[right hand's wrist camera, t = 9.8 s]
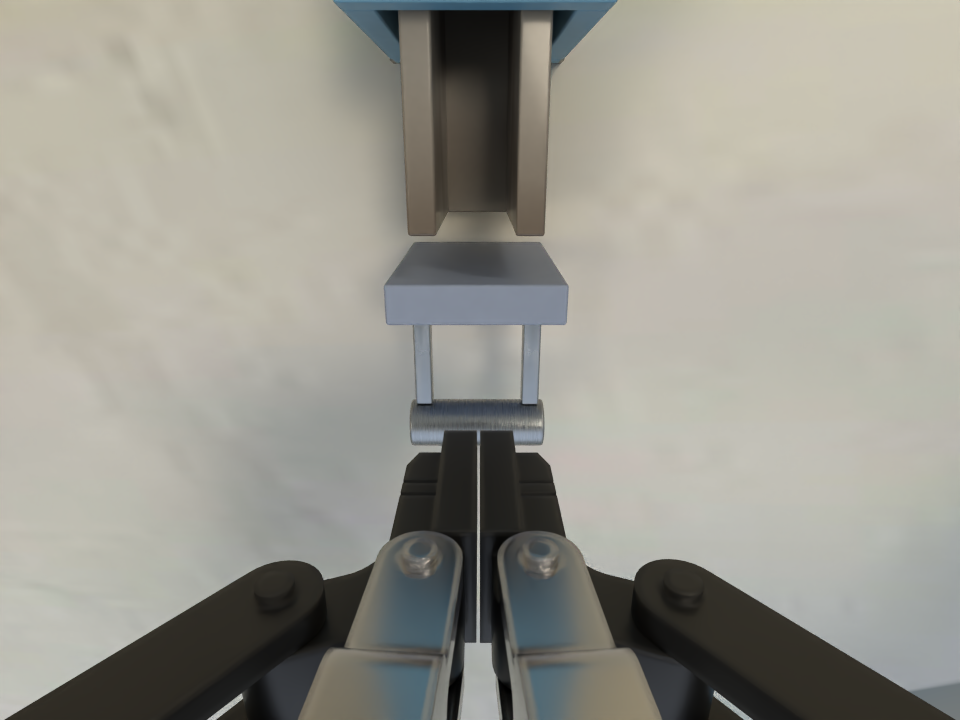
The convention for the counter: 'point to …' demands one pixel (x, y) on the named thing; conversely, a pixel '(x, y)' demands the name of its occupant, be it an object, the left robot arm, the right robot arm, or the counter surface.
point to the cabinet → (573, 7)
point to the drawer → (476, 201)
